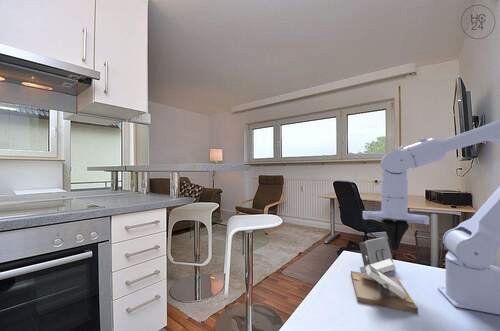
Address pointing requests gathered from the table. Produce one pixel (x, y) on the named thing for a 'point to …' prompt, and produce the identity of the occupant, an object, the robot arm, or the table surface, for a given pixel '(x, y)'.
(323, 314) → the table surface
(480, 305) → the robot arm
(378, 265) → the rear rocker
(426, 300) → the table surface
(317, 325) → the table surface
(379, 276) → the block
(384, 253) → the electrical switch
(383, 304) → the switch board
